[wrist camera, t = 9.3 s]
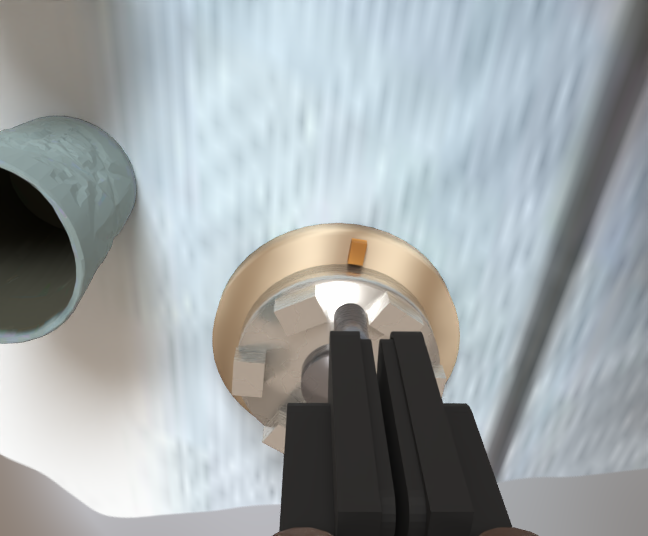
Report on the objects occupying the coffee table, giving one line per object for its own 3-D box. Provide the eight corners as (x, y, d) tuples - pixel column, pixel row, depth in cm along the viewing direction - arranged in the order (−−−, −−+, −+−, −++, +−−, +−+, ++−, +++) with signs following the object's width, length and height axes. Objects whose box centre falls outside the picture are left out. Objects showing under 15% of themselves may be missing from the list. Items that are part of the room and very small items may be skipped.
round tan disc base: (469, 225, 41) (478, 240, 39) (439, 424, 49) (445, 446, 47) (208, 220, 41) (202, 236, 38) (222, 422, 49) (218, 445, 47)
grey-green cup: (94, 272, 42) (20, 376, 32) (-39, 183, 39) (-170, 265, 29) (176, 169, 39) (125, 248, 28) (38, 63, 36) (-78, 106, 25)
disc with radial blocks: (244, 254, 39) (224, 342, 30) (451, 274, 40) (491, 365, 31) (235, 416, 46) (215, 529, 37) (413, 430, 47) (437, 543, 38)
